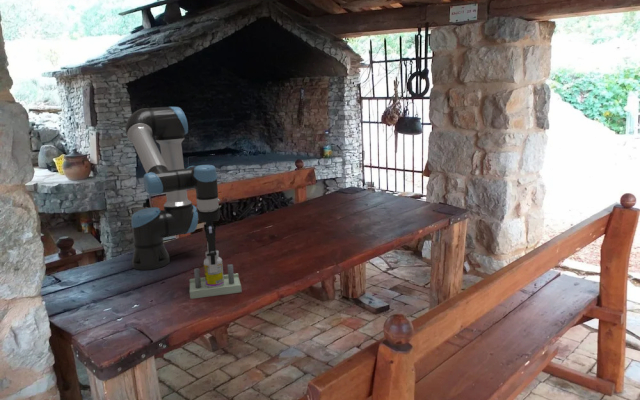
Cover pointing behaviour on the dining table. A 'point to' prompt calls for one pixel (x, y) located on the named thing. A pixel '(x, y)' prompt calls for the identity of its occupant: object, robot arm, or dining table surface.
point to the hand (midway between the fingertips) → (212, 265)
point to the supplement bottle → (213, 278)
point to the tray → (201, 290)
